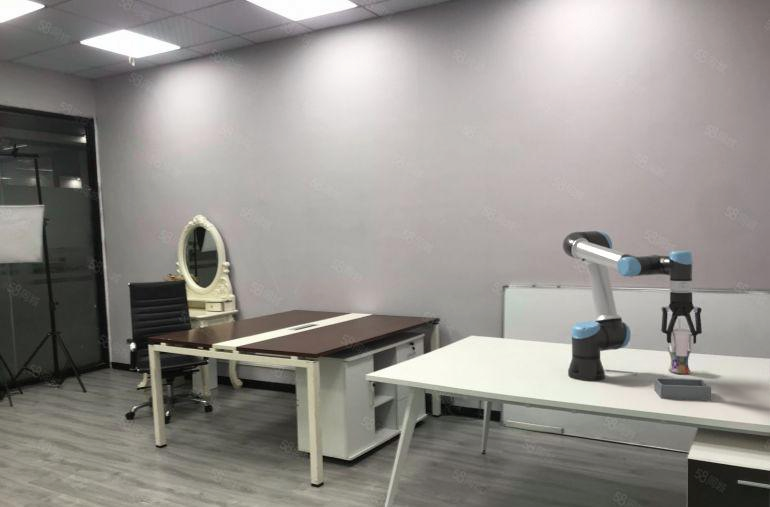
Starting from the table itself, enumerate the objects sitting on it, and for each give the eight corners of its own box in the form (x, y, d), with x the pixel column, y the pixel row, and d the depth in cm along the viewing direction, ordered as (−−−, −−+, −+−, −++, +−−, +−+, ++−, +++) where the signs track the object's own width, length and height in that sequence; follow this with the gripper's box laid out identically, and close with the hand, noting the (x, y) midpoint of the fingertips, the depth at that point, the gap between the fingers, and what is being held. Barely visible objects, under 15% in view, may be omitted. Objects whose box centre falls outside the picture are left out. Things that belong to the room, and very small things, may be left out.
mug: (689, 376, 239) (689, 352, 239) (665, 373, 245) (665, 349, 244) (694, 370, 248) (694, 346, 248) (671, 367, 254) (671, 344, 254)
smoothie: (671, 353, 217) (670, 317, 216) (689, 353, 214) (689, 317, 214) (673, 356, 211) (672, 320, 210) (692, 357, 208) (691, 320, 208)
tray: (660, 398, 210) (660, 385, 210) (654, 390, 220) (654, 378, 220) (711, 400, 206) (711, 386, 206) (702, 392, 216) (702, 379, 216)
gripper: (656, 292, 210) (656, 353, 211) (712, 292, 206) (712, 354, 207) (651, 290, 217) (652, 349, 218) (705, 290, 213) (705, 350, 214)
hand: (681, 351), depth 212 cm, fingers closed on smoothie, 6 cm apart
